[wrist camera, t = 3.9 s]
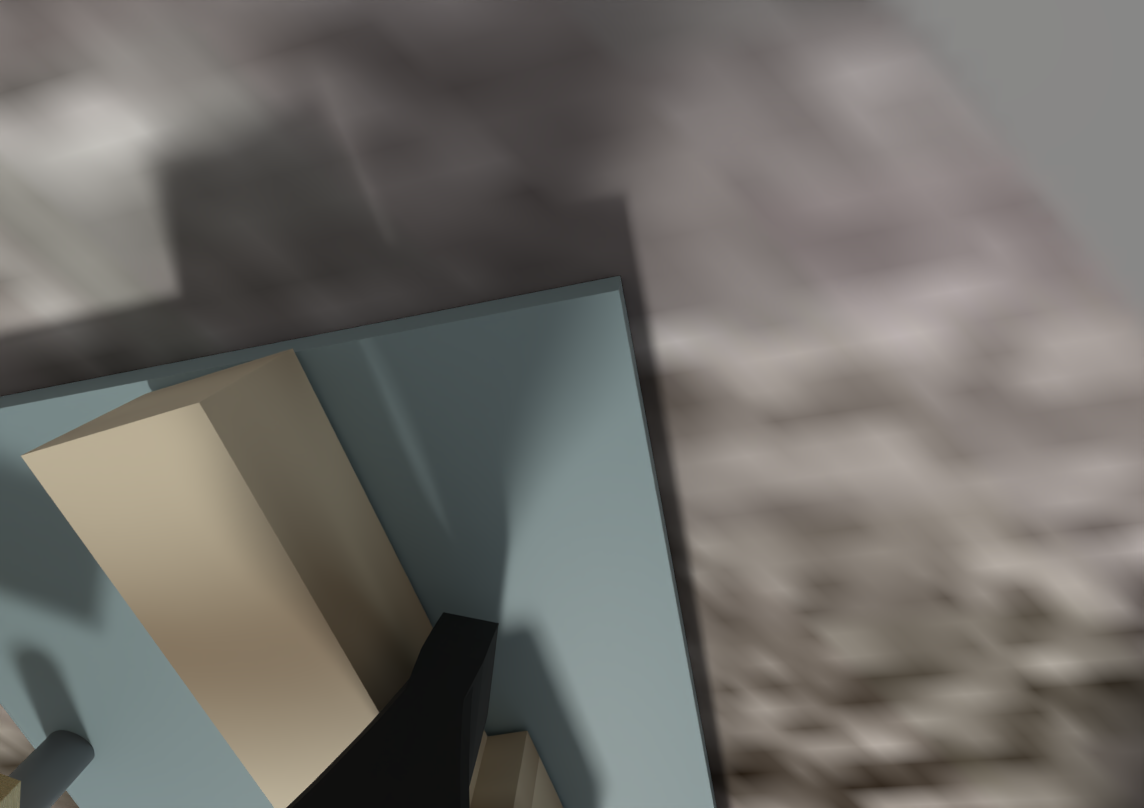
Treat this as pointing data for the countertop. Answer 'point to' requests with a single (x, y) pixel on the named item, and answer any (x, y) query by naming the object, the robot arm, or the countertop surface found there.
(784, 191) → the countertop surface
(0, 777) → the keeper
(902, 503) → the countertop surface
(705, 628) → the countertop surface
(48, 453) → the link
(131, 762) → the base board
